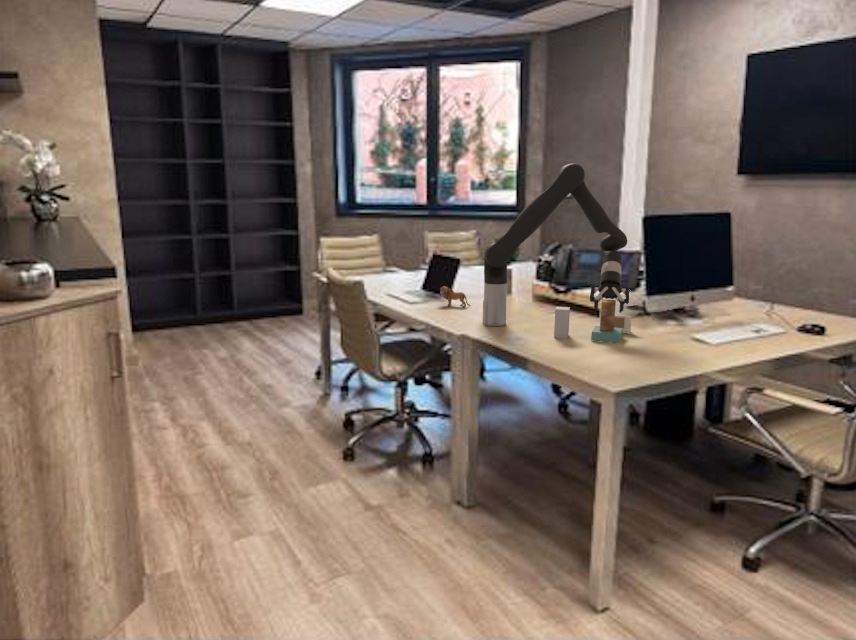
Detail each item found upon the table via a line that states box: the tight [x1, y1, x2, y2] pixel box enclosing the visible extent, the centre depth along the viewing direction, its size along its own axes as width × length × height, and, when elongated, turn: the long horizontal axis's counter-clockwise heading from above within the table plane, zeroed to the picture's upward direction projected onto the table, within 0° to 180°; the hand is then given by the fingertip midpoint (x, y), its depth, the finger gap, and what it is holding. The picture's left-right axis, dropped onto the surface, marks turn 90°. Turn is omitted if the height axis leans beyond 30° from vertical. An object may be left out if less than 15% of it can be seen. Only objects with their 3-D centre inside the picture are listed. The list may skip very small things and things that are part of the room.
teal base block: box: [590, 325, 624, 344], centre depth 241 cm, size 10×10×4 cm
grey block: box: [553, 306, 571, 339], centre depth 244 cm, size 5×5×11 cm
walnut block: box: [599, 298, 617, 332], centre depth 240 cm, size 5×5×11 cm
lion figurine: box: [439, 285, 471, 308], centre depth 301 cm, size 15×5×9 cm, turn 72°
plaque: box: [614, 314, 632, 335], centre depth 252 cm, size 9×4×7 cm, turn 74°
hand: (608, 310), depth 240 cm, fingers open, 8 cm apart
